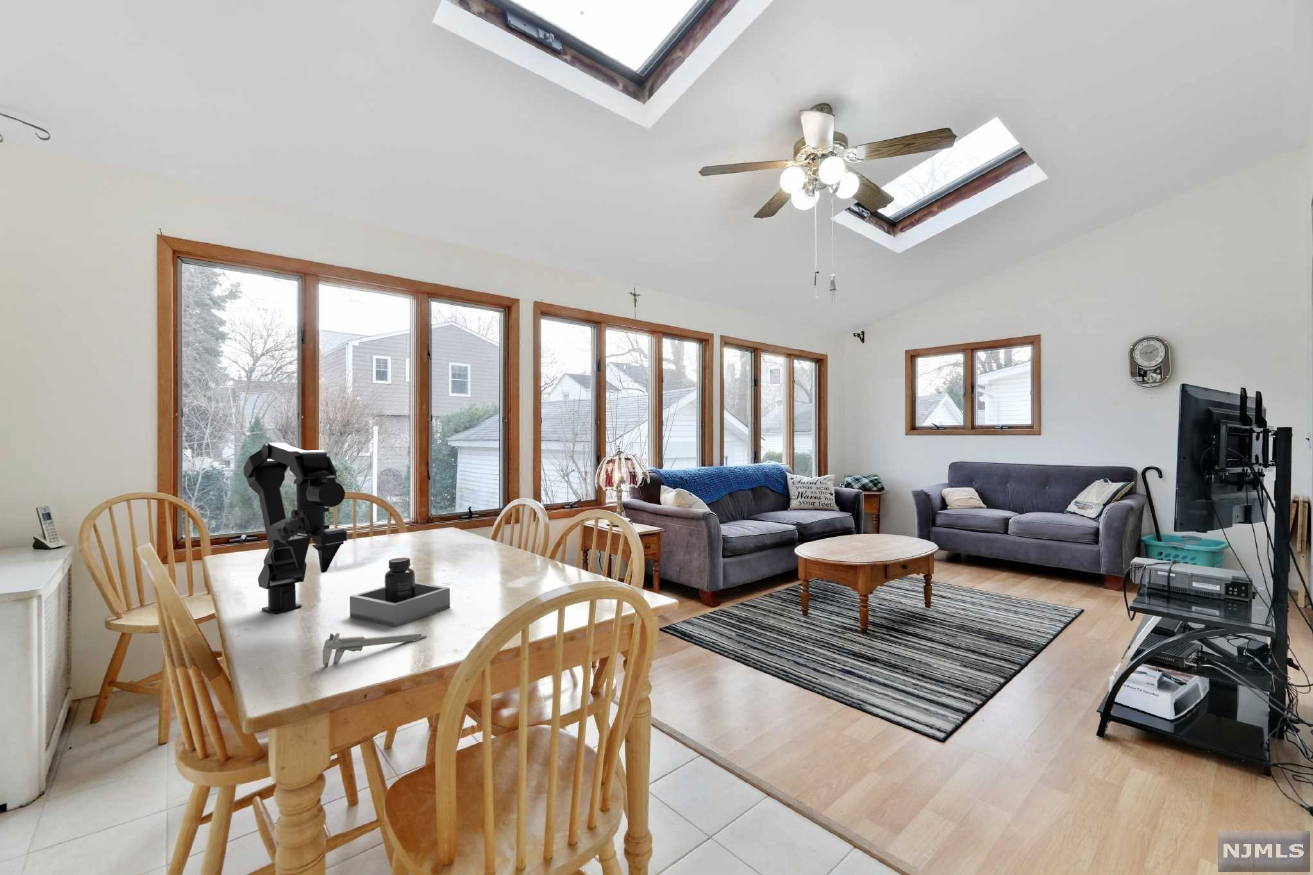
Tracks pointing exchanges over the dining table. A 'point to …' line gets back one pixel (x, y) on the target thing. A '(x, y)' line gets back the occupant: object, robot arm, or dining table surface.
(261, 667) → the dining table surface
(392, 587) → the supplement bottle
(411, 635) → the caliper
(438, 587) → the bin
